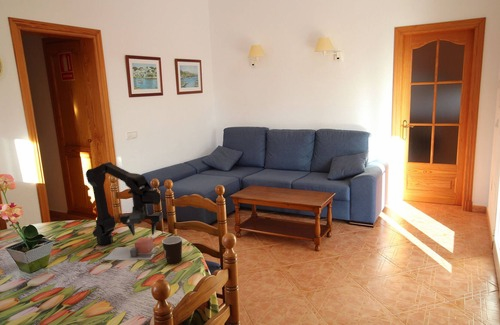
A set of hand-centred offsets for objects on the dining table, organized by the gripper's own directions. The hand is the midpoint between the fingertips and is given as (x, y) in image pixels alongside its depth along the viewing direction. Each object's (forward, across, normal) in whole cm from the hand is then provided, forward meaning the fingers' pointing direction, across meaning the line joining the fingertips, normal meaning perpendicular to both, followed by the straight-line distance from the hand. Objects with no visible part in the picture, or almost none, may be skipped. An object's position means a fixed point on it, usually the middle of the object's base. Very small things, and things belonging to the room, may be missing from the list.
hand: (143, 234), depth 176 cm
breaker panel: (+9, -5, -3) cm, 10 cm away
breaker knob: (+7, -3, -6) cm, 10 cm away
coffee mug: (+9, +16, -7) cm, 20 cm away
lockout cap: (+8, 0, 0) cm, 8 cm away
